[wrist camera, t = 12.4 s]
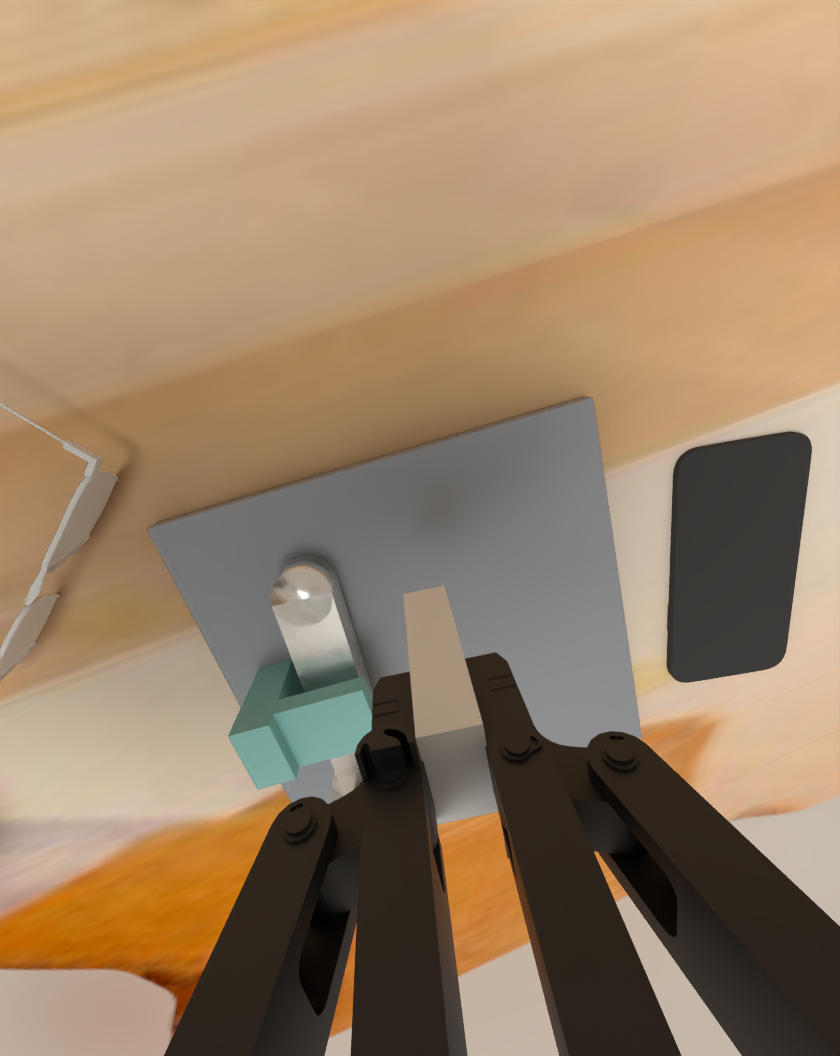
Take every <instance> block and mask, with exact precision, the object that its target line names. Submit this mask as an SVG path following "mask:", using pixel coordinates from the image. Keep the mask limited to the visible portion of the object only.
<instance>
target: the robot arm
mask: <svg viewBox="0 0 840 1056" xmlns="http://www.w3.org/2000/svg"><path fill="white" fill-rule="evenodd" d="M403 598H404V609H405V621H406V633H407V644H408V656H409V667H410V671H409V672H405V673H400V674H395V675H390V676H386V677H381V678H380V679H379V680H378V682H377V684H376V686H375V688H374V690H373V699H372V706H373V707H372V729H371V731H370V732H369V733H367V734H366V735H364V736H363V738H362V739H361V740H360V742H359V743H358V744H357V747H356V751H355V754H354V755H355V758H356V761H357V764H358V767H359V770H360V773H361V776H362V782H361V783H360V784H359V785H358V786H357V787H356V788H355V789H354V790H352V791H351V792H349V793H348V794H346V795H345V796H343V797H341V798H339V799H337V800H335V801H333V802H331V803H329V804H327V803H326V802H325V801H324V800H323V799H322V798H318V797H313V796H311V797H305V798H300V799H298V800H296V801H295V802H293V803H291V804H289V805H288V806H287V807H286V808H285V809H283V810H282V811H281V812H280V813H279V814H278V816H277V817H276V819H275V820H274V822H273V824H272V825H271V827H270V829H269V832H268V834H267V836H266V838H265V840H264V842H263V844H262V847H261V849H260V851H259V853H258V855H257V857H256V859H255V862H254V864H253V866H252V868H251V870H250V872H249V874H248V877H247V879H246V881H245V883H244V885H243V887H242V889H241V892H240V894H239V896H238V898H237V900H236V902H235V904H234V907H233V909H232V911H231V913H230V915H229V917H228V919H227V922H226V924H225V926H224V928H223V930H222V932H221V934H220V937H219V939H218V941H217V943H216V945H215V947H214V949H213V952H212V954H211V956H210V958H209V960H208V962H207V964H206V967H205V969H204V971H203V973H202V975H201V977H200V979H199V982H198V984H197V986H196V988H195V990H194V992H193V994H192V997H191V999H190V1001H189V1003H188V1005H187V1007H186V1009H185V1012H184V1014H183V1016H182V1018H181V1020H180V1022H179V1024H178V1027H177V1029H176V1031H175V1033H174V1035H173V1037H172V1039H171V1042H170V1044H169V1046H168V1048H167V1050H166V1052H165V1055H164V1056H324V1055H325V1051H326V1046H327V1042H328V1038H329V1034H330V1030H331V1026H332V1022H333V1018H334V1014H335V1009H336V1005H337V1001H338V997H339V993H340V989H341V985H342V980H343V976H344V972H345V968H346V964H347V960H348V956H349V951H350V947H351V943H352V939H353V935H354V931H355V927H356V922H357V930H356V952H355V974H354V996H353V1018H352V1040H351V1056H467V1048H466V1040H465V1032H464V1024H463V1016H462V1008H461V1000H460V992H459V983H458V975H457V967H456V959H455V951H454V943H453V935H452V927H451V919H450V911H449V903H448V894H447V886H446V878H445V870H444V862H443V854H442V847H441V844H440V840H439V836H438V830H437V824H443V823H448V822H452V821H457V820H462V819H466V818H471V817H476V816H481V815H485V814H490V813H495V812H499V815H500V819H501V824H502V829H503V835H504V840H505V846H506V851H507V857H508V858H509V859H510V863H511V867H512V871H513V875H514V879H515V882H516V886H517V890H518V894H519V898H520V902H521V906H522V910H523V914H524V918H525V922H526V926H527V930H528V934H529V938H530V942H531V946H532V950H533V954H534V958H535V961H536V965H537V969H538V973H539V977H540V981H541V985H542V989H543V993H544V997H545V1001H546V1005H547V1009H548V1013H549V1017H550V1021H551V1025H552V1029H553V1033H554V1037H555V1041H556V1045H557V1048H558V1052H559V1056H681V1054H680V1051H679V1049H678V1047H677V1044H676V1042H675V1040H674V1037H673V1035H672V1033H671V1031H670V1028H669V1026H668V1024H667V1021H666V1019H665V1016H664V1014H663V1012H662V1010H661V1007H660V1005H659V1003H658V1000H657V998H656V996H655V993H654V991H653V989H652V986H651V984H650V982H649V979H648V977H647V975H646V972H645V970H644V968H643V965H642V963H641V961H640V958H639V956H638V954H637V951H636V949H635V947H634V944H633V942H632V940H631V937H630V935H629V933H628V931H627V928H626V926H625V923H624V922H623V919H622V917H621V914H620V912H619V909H618V907H617V905H616V903H615V900H614V898H613V896H612V893H611V891H610V889H609V886H608V884H607V882H606V879H605V877H604V875H603V872H602V870H601V868H600V865H599V863H598V861H597V858H596V856H595V854H594V851H597V852H599V854H600V856H601V857H602V859H603V860H604V862H605V863H606V864H607V866H608V867H609V869H610V870H611V871H612V873H613V874H614V876H615V877H616V879H617V880H618V881H619V883H620V884H621V886H622V887H623V888H624V890H625V891H626V893H627V894H628V895H629V897H630V898H631V900H632V901H633V903H634V904H635V905H636V907H637V908H638V910H639V911H640V912H641V914H642V915H643V917H644V918H645V919H646V921H647V922H648V924H649V925H650V927H651V928H652V929H653V931H654V932H655V934H656V935H657V936H658V938H659V939H660V941H661V942H662V943H663V945H664V946H665V948H666V949H667V950H668V952H669V953H670V955H671V956H672V958H673V959H674V960H675V962H676V963H677V965H678V966H679V967H680V969H681V970H682V971H683V973H684V974H685V976H686V977H687V979H688V980H689V982H690V983H691V984H692V986H693V987H694V989H695V990H696V991H697V993H698V994H699V996H700V997H701V999H702V1000H703V1001H704V1003H705V1004H706V1006H707V1007H708V1008H709V1010H710V1011H711V1013H712V1014H713V1015H714V1017H715V1018H716V1020H717V1021H718V1022H719V1024H720V1025H721V1027H722V1028H723V1030H724V1031H725V1032H726V1034H727V1035H728V1037H729V1038H730V1039H731V1041H732V1042H733V1044H734V1045H735V1047H736V1048H737V1049H738V1051H739V1052H740V1054H741V1055H742V1056H840V926H839V925H837V923H836V922H834V921H833V920H832V919H831V918H830V917H829V916H828V915H827V914H826V913H825V912H824V911H823V910H822V909H821V908H819V906H817V905H816V904H815V903H814V902H813V901H812V900H811V899H810V898H809V897H808V896H807V895H806V894H805V893H804V892H803V891H802V890H800V889H799V888H798V887H797V886H796V885H795V884H794V883H793V882H792V881H791V880H790V879H789V878H787V876H786V875H785V874H783V873H782V872H781V871H780V870H779V869H778V868H777V867H776V866H775V865H774V864H773V863H772V862H771V861H770V860H769V859H768V858H766V857H765V856H764V855H763V854H762V853H761V852H760V851H759V850H758V849H757V848H756V847H755V846H754V845H753V844H752V843H751V842H750V841H749V840H747V839H746V838H745V837H744V836H743V835H742V834H741V833H740V832H739V831H738V830H737V829H736V828H735V827H734V826H733V825H732V824H731V823H729V822H728V821H727V820H726V819H725V818H724V817H723V816H722V815H721V814H720V813H719V812H718V811H717V810H716V809H715V808H714V807H712V806H711V805H710V804H709V803H708V802H707V801H706V800H705V799H704V798H703V797H702V796H701V795H700V794H699V793H698V792H697V791H695V790H694V789H693V788H692V787H691V786H690V785H689V784H688V783H687V782H686V781H685V780H684V779H683V778H682V777H681V776H680V775H679V774H677V773H676V772H675V771H674V770H673V769H672V768H671V767H670V766H669V765H668V764H667V763H666V762H665V761H664V760H663V759H662V758H660V757H659V756H658V755H657V754H656V753H655V752H654V751H653V750H652V749H651V748H650V747H649V746H648V745H647V744H646V743H644V742H643V741H641V740H640V739H638V738H637V737H635V736H633V735H630V734H627V733H624V732H615V731H609V732H605V733H600V734H598V735H597V736H595V737H594V738H593V739H591V740H590V742H589V744H588V746H587V747H574V746H565V745H560V744H557V743H554V742H552V741H550V740H548V739H547V738H545V737H543V736H542V735H541V734H540V733H539V732H538V731H537V729H536V727H535V726H534V724H533V721H532V719H531V716H530V714H529V712H528V709H527V707H526V705H525V702H524V700H523V697H522V695H521V693H520V690H519V688H518V686H517V683H516V681H515V678H514V676H513V674H512V671H511V669H510V666H509V664H508V662H507V661H506V660H505V659H504V658H503V657H501V656H500V655H499V654H498V653H497V652H494V653H489V654H484V655H480V656H475V657H470V658H464V654H463V650H462V647H461V643H460V640H459V636H458V632H457V629H456V625H455V622H454V618H453V614H452V611H451V607H450V604H449V600H448V596H447V593H446V589H445V586H440V587H435V588H430V589H425V590H421V591H416V592H411V593H406V594H403ZM436 820H437V821H436Z"/></svg>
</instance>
